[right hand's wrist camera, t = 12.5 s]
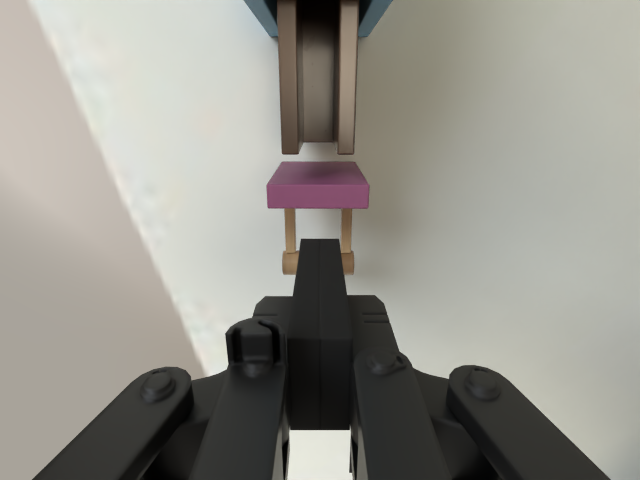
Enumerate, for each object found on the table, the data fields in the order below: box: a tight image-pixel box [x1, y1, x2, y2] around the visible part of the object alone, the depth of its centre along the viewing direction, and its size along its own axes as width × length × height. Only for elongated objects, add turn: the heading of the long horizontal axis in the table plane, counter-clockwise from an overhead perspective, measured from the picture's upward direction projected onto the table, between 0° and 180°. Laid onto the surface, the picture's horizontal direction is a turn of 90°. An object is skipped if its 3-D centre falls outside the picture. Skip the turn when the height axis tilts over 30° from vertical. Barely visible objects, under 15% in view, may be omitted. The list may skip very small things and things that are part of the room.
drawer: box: [267, 0, 369, 275], centre depth 19 cm, size 25×5×8 cm, turn 0°
